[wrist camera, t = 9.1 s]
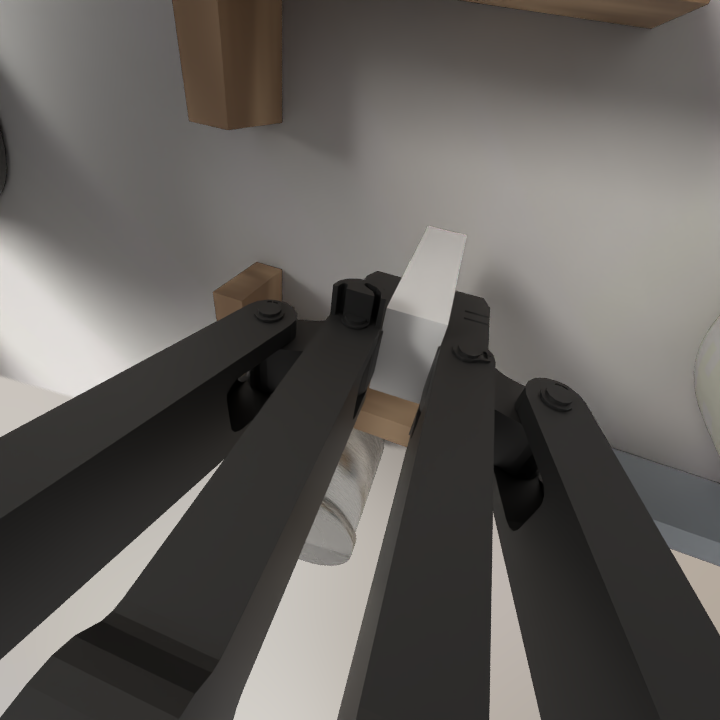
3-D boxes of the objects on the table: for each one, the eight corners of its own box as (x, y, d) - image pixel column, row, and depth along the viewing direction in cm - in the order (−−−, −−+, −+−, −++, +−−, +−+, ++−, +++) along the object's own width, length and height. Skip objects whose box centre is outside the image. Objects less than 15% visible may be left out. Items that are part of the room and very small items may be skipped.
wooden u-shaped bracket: (260, 345, 24) (225, 382, 21) (239, -102, 12) (148, -167, 9) (462, 413, 22) (455, 464, 19) (690, -51, 10) (773, -114, 7)
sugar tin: (294, 448, 30) (243, 535, 24) (297, 386, 25) (234, 475, 20) (376, 479, 29) (344, 578, 23) (395, 420, 24) (360, 526, 18)
